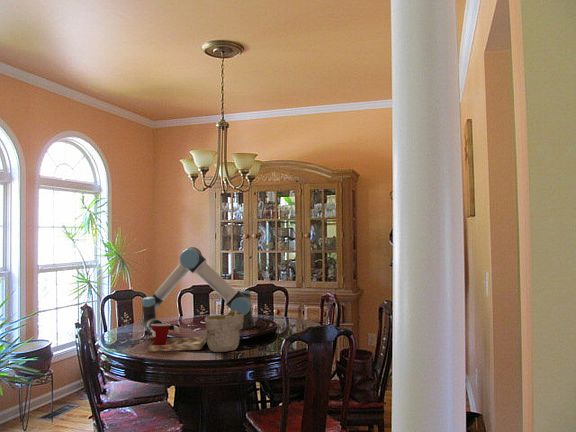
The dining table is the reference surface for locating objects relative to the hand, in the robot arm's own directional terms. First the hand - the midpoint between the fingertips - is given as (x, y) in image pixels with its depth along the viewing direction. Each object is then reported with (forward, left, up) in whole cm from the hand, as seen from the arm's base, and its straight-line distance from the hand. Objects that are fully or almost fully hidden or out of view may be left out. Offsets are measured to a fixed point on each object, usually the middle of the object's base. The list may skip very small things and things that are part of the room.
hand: (166, 332), depth 274 cm
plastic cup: (+5, -2, -8) cm, 9 cm away
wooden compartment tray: (-5, -3, -9) cm, 11 cm away
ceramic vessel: (-32, +4, -9) cm, 34 cm away
